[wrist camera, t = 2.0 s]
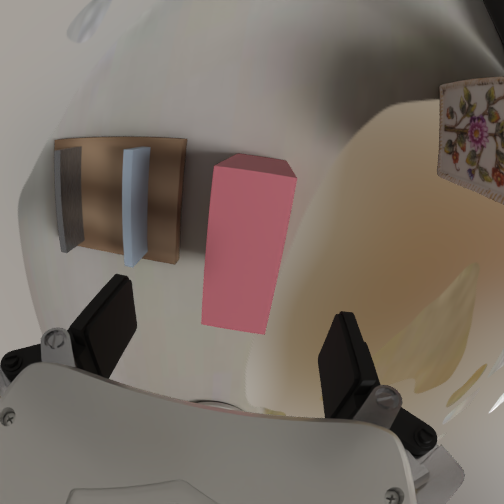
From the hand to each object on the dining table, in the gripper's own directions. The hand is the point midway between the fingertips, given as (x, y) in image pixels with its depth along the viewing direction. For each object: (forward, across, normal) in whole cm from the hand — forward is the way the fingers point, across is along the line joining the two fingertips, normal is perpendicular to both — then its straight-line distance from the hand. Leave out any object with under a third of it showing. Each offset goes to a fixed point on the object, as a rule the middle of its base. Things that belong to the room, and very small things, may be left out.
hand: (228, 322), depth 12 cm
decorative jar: (+19, -25, -14) cm, 35 cm away
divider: (+17, +12, +1) cm, 21 cm away
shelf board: (+19, +17, +1) cm, 25 cm away
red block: (+19, 0, +1) cm, 19 cm away
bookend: (+17, +21, +1) cm, 28 cm away
